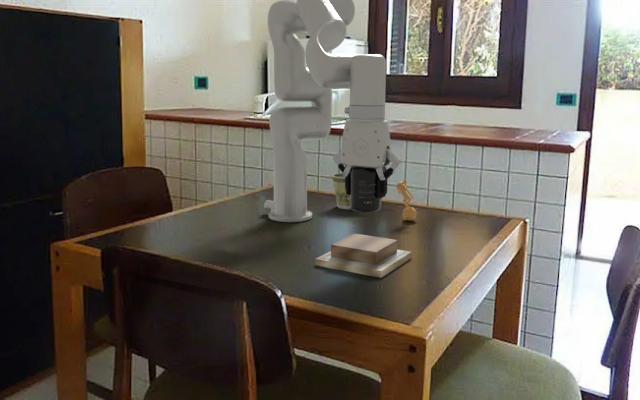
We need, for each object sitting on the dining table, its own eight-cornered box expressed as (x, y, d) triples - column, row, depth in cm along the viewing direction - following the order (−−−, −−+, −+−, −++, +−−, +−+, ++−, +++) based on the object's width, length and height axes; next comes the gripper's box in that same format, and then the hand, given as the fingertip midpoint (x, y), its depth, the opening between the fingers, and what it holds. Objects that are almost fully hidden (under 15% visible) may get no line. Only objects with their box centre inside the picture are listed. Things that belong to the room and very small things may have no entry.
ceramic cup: (325, 207, 194) (325, 175, 192) (343, 202, 202) (343, 171, 200) (361, 213, 187) (362, 180, 185) (378, 207, 195) (379, 175, 193)
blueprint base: (315, 265, 138) (315, 245, 137) (349, 247, 152) (349, 229, 151) (381, 277, 130) (381, 257, 129) (411, 258, 144) (412, 239, 143)
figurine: (422, 223, 175) (424, 181, 173) (403, 225, 173) (405, 182, 171) (408, 216, 183) (409, 176, 180) (389, 218, 181) (391, 177, 178)
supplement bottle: (348, 206, 141) (348, 153, 139) (378, 205, 142) (379, 152, 140) (352, 213, 135) (352, 157, 132) (383, 212, 135) (384, 157, 133)
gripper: (323, 113, 135) (322, 194, 139) (397, 116, 127) (395, 203, 130) (340, 111, 142) (339, 188, 145) (411, 114, 133) (409, 196, 137)
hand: (365, 194), depth 138 cm, fingers closed on supplement bottle, 6 cm apart
